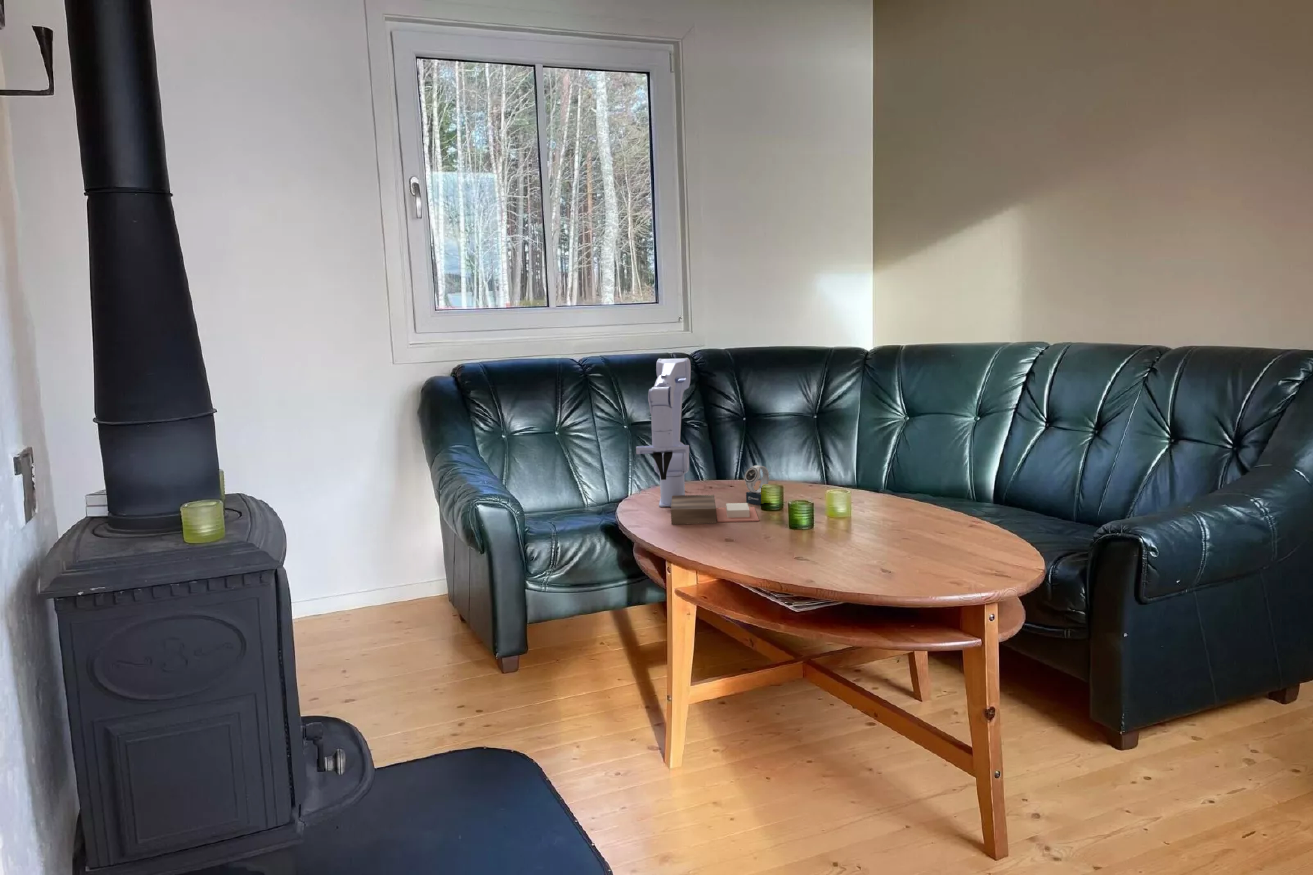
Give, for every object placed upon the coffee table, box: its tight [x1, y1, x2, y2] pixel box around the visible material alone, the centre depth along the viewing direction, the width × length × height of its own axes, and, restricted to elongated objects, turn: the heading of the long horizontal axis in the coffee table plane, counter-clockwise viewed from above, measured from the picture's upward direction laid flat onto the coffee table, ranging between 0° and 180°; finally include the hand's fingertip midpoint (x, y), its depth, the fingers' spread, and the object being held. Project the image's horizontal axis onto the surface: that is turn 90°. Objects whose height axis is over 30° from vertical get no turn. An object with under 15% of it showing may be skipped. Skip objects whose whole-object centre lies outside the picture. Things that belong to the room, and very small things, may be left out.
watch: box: [743, 464, 770, 506], centre depth 246 cm, size 6×8×11 cm
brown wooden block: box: [670, 494, 717, 525], centre depth 233 cm, size 18×12×4 cm, turn 178°
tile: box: [725, 502, 750, 518], centre depth 232 cm, size 9×6×2 cm, turn 177°
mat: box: [716, 506, 760, 523], centre depth 232 cm, size 16×11×1 cm
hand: (663, 479), depth 233 cm, fingers closed
